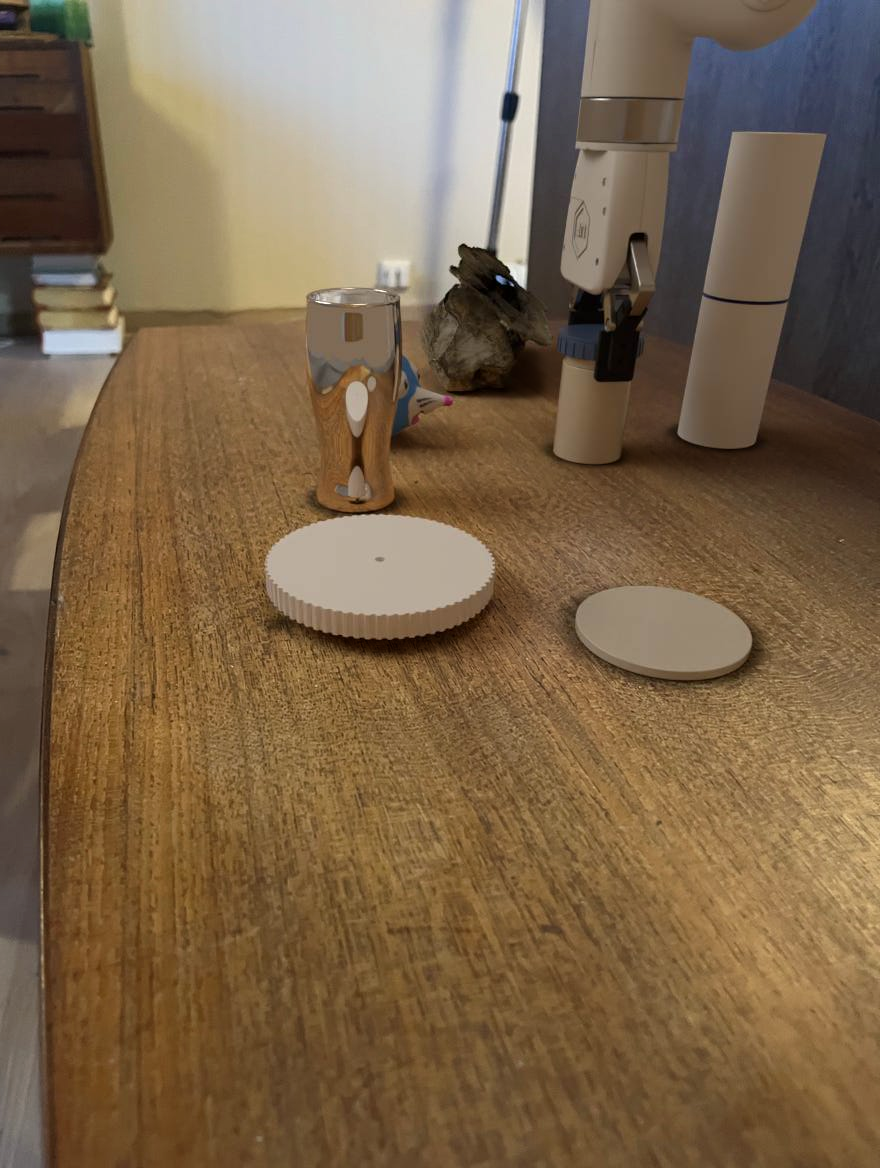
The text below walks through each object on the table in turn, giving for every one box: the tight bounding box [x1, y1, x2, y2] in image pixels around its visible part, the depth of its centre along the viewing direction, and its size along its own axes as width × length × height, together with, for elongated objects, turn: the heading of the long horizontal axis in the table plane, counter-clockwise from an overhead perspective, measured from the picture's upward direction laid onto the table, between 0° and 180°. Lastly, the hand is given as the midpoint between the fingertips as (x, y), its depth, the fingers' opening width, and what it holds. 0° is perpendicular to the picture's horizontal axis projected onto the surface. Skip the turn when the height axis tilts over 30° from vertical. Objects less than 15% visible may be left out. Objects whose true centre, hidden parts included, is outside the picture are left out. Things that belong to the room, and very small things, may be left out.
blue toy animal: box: [391, 354, 454, 438], centre depth 79 cm, size 12×12×8 cm
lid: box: [556, 324, 645, 361], centre depth 74 cm, size 7×7×2 cm
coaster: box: [574, 585, 753, 681], centre depth 52 cm, size 10×10×1 cm
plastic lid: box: [264, 513, 496, 641], centre depth 54 cm, size 14×14×2 cm
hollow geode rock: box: [419, 242, 554, 392], centre depth 102 cm, size 28×13×15 cm
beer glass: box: [304, 286, 403, 514], centre depth 65 cm, size 7×7×15 cm
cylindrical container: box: [677, 131, 827, 450], centre depth 77 cm, size 7×7×25 cm
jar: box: [552, 356, 633, 465], centre depth 77 cm, size 6×6×9 cm
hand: (597, 367), depth 75 cm, fingers closed on lid, 7 cm apart
